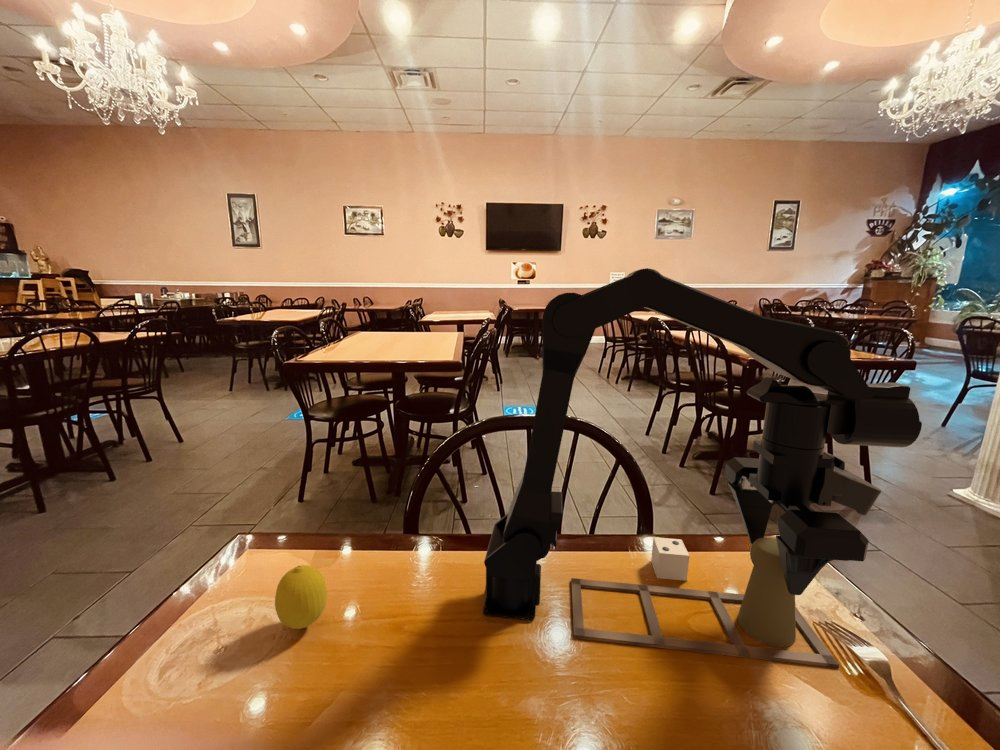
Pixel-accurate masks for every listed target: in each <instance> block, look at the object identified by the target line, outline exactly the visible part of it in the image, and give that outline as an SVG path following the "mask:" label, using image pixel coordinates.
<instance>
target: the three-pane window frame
mask: <svg viewBox="0 0 1000 750" xmlns="http://www.w3.org/2000/svg"><path fill="white" fill-rule="evenodd" d="M570 580H571V583H570V584H571V602H572V603H571V605H572V607H571V608H572V624H573V625H572V626H573V628H572V629H573V638H574V639H579V640H587V641H588V640H589V641H597V642H604V643H605V642H606V643H607V642H608V643H616V644H622V645H623V644H625V645H631V646H632V645H633V646H641V647H642V646H643V647H650V648H651V647H652V648H659V649H670V650H675V651H676V650H677V651H685V652H695V653H703V654H713V655H719V656H720V655H721V656H731V657H739V658H748V659H756V660H758V659H759V660H766V661H774V662H785V663H791V664H792V663H793V664H801V665H808V666H809V665H811V666H818V667H819V666H820V667H828V668H836V669H837V668H838V669H839V668H840V664H839V662H838V661H837V659H836V658H835V657H834V656H833V654H832V653H831V652H830V650H829V649H828V648H827V647H826V645H825V644H824V642H823V641H822V640H821V638H820V637H819V636H818V634H817V633H816V632H815V630H814V629H813V628H812V627H811V625H810V623H808V621H807V620H806V618H805V617H804V616H803V615H802V614H801V612H800V611H799V609H798V608H797V607H796V606H795V624H796V627H797V628H798V629H799V630H800V632H801V633H802V634H803V636H804V637H805V639H806V640H807V641H808V643H809V644H810V646H811V647H812V648H813V650H814V651H815V652H816V653H815V652H804V651H803V652H802V651H794V650H786V649H776V648H768V647H759V646H757V647H756V646H751V645H749V646H748V645H746V644H745V642H744V640H743V638H742V637H741V635H740V633H739V631H738V629H737V628H736V626H735V623H734V622H733V620H732V618H731V616H730V614H729V612H728V610H727V609H726V607H725V605H724V603H723V602H729V603H736V604H737V603H740V604H742V601H743V598H744V595H745V593H744V594H743V593H731V592H723V591H711V590H702V589H701V590H700V589H690V588H680V587H678V588H677V587H671V586H670V587H668V586H659V585H647V584H638V583H637V584H636V583H628V582H627V583H626V582H617V581H606V580H597V579H596V580H593V579H585V578H575V577H572V578H571V579H570ZM582 588H585V589H593V590H605V591H606V590H607V591H616V592H626V593H635V594H639V596H640V600H641V605H642V607H643V610H644V615H645V619H646V623H647V626H648V630H649V632H650V633H649V635H648V634H639V633H632V632H631V633H629V632H621V631H612V630H604V629H594V628H586V627H585V625H584V613H583V611H584V610H583V601H582V599H583V598H582ZM651 595H656V596H666V597H677V598H687V599H697V600H699V599H700V600H707V601H708V600H709V601H710V602H711V604H712V606H713V609H714V610H715V613H716V615H717V617H718V619H719V621H720V623H721V624H722V627H723V628H724V629H723V630H725V633H726V635H727V637H728V639H729V640H730V642H731V644H730V643H723V642H722V643H720V642H715V641H714V642H713V641H702V640H695V639H694V640H693V639H685V638H684V639H683V638H676V637H667V636H663V633H662V630H661V626H660V623H659V619H658V617H657V613H656V610H655V607H654V603H653V600H652V597H651Z"/></svg>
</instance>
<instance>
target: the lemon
mask: <svg viewBox="0 0 1000 750" xmlns="http://www.w3.org/2000/svg"><path fill="white" fill-rule="evenodd" d="M327 589H328V588H327V584H326V581H325V578H324V576H323V574H322V573H321V571H320V570H318V568H316V567H314V566H311V565H308V564H306V565H304V564H303V565H297V566H295V567H292V568H291V569H290V570H288V571H286V573H285V574H284V575H283V576H282V577H281V579H280V580H279V582H278V584H277V587H276V592H275V598H274V607H275V611H276V616H277V618H278V619H279V621H280V623H282V625H284V626H286V627H287V628H290V629H293V630H300V629H305V628H307V627H309V626H312V625H313V624H314V623H315V622H316V621H318V619H319V618H320V617H321V615H322V614H323V612H324V610H325V608H326V605H327V599H328V590H327Z"/></svg>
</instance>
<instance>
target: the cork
mask: <svg viewBox="0 0 1000 750" xmlns="http://www.w3.org/2000/svg"><path fill="white" fill-rule="evenodd" d="M749 555H750V561H751V563H752V565H753V566H752V569H751V573H750V576H749V578H748V582H747V585H746V589H745V591H744V594H745V595H744V598H743V601H742V603H740V604H741V605H740V607H739V611H738V613H737V617H736V618H737V623H738V624H739V626H740V627H741V629H742V630H743V631H744V632H745V633H747V635H749V636H750V637H752V638H753V639H755V640H757V641H758V642H761V643H763V644H765V645H768V646H773V647H777V648H786V647H790V646H792V645H793V644H795V642H796V635H797V631H796V628H797V625H796V623H795V607H796V595H791V594H790V593H789V592H788V589H787V585H786V581H785V577H784V572H783V568H782V563H781V558H780V554H779V550H778V545H777V540H776V537H765V536H764V538H759V539H757V540H756V541H755V542H753V544H751V546H750V551H749Z"/></svg>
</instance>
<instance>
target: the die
mask: <svg viewBox="0 0 1000 750" xmlns="http://www.w3.org/2000/svg"><path fill="white" fill-rule="evenodd" d="M650 561H651V564H652V567H653V570H654V573H655V576H656V578H657V579H664V580H665V579H666V580H675V581H684V582H685V581H688V573H689V572H688V571H689V563H690V554H689V552H688V550H687V548H686V546H685V544H684V541H683V540H682V538H681V539H679V538H667V537H656V536H653V537H652V549H651V558H650Z"/></svg>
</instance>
